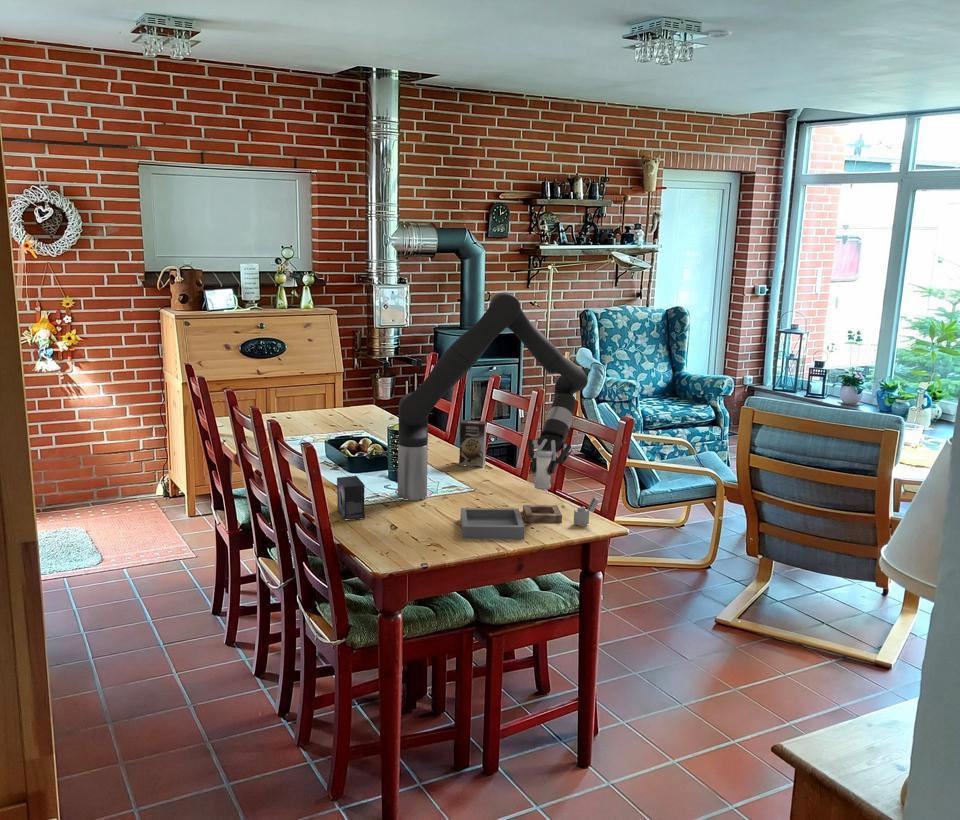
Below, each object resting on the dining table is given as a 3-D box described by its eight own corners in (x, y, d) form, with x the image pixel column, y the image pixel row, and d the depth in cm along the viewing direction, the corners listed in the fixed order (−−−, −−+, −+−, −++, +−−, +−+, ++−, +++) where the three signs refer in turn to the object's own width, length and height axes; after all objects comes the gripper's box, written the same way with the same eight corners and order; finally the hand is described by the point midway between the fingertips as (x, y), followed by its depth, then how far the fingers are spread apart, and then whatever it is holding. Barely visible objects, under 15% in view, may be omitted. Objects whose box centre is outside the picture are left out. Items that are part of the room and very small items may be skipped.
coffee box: (458, 466, 321) (459, 422, 318) (461, 462, 327) (462, 419, 324) (483, 467, 320) (484, 423, 317) (485, 463, 326) (486, 420, 323)
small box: (335, 510, 266) (335, 476, 264) (357, 508, 268) (357, 475, 266) (343, 521, 256) (343, 486, 254) (365, 519, 259) (365, 484, 257)
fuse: (535, 489, 261) (537, 453, 259) (533, 485, 266) (535, 449, 264) (551, 489, 261) (553, 453, 259) (549, 485, 266) (551, 449, 264)
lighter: (575, 525, 257) (576, 499, 256) (573, 524, 259) (574, 497, 257) (598, 524, 259) (599, 498, 258) (595, 522, 261) (597, 496, 259)
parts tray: (462, 538, 244) (462, 526, 243) (460, 519, 260) (460, 508, 260) (524, 539, 245) (524, 527, 244) (518, 519, 261) (518, 508, 261)
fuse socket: (526, 521, 260) (526, 515, 259) (522, 511, 270) (523, 504, 269) (561, 522, 260) (562, 515, 260) (556, 511, 270) (557, 505, 270)
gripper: (532, 415, 269) (515, 462, 261) (577, 420, 263) (561, 469, 255) (538, 429, 275) (521, 475, 266) (581, 434, 269) (566, 482, 261)
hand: (541, 472), depth 261 cm, fingers closed on fuse, 4 cm apart
